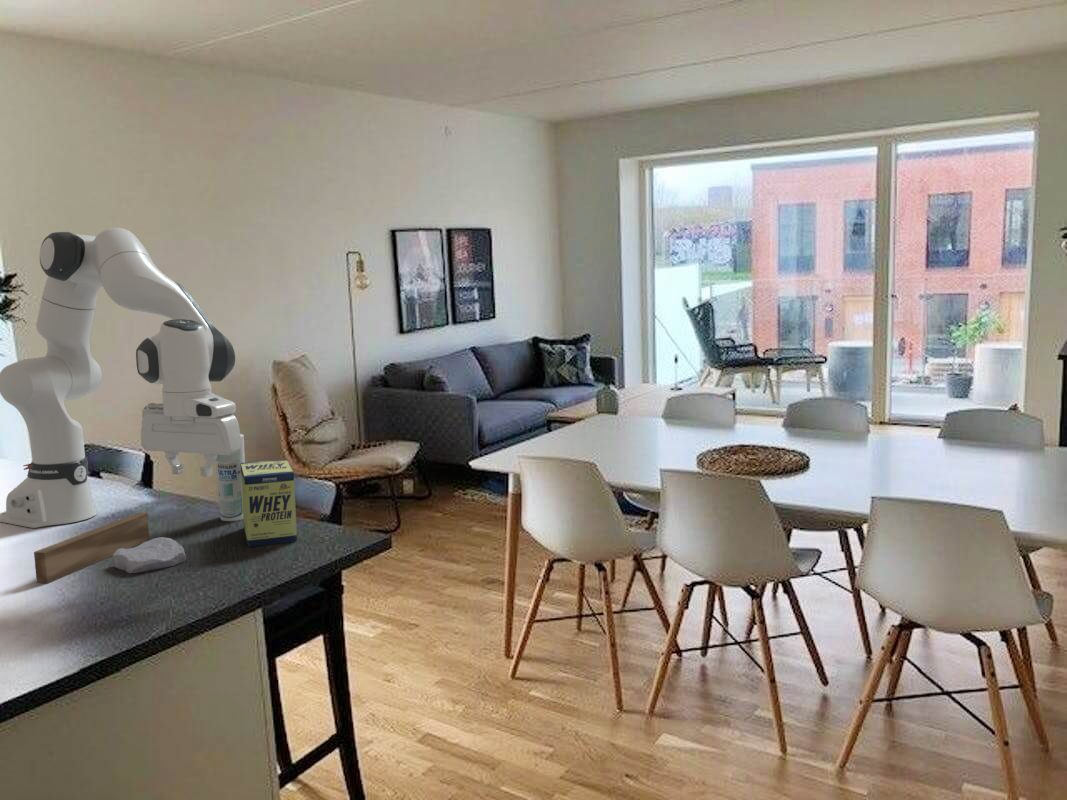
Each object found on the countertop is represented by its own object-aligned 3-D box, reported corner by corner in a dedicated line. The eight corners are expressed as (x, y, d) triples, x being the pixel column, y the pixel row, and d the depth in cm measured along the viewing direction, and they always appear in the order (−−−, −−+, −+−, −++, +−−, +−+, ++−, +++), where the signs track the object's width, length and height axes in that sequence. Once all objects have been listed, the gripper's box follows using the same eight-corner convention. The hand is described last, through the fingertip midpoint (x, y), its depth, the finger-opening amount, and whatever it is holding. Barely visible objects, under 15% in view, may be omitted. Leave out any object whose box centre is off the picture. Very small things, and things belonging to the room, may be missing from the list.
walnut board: (36, 582, 163) (33, 551, 162) (139, 538, 190) (137, 512, 189) (47, 583, 162) (44, 553, 162) (149, 539, 189) (147, 513, 188)
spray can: (215, 521, 203) (210, 438, 200) (225, 513, 210) (221, 433, 207) (242, 521, 203) (237, 438, 200) (252, 513, 209) (247, 433, 207)
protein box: (247, 547, 184) (243, 476, 181) (243, 528, 198) (239, 462, 196) (298, 541, 187) (294, 472, 185) (289, 523, 202) (286, 458, 200)
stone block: (191, 569, 176) (165, 551, 181) (191, 548, 174) (166, 530, 180) (134, 588, 167) (109, 568, 172) (134, 566, 165) (109, 546, 171)
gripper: (130, 405, 165) (135, 475, 167) (223, 408, 160) (227, 481, 162) (153, 400, 171) (157, 468, 173) (243, 404, 166) (247, 474, 168)
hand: (192, 474), depth 167 cm, fingers open, 5 cm apart
